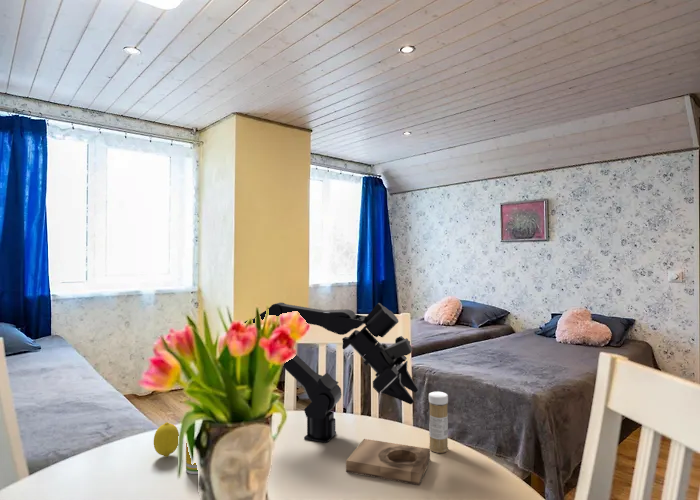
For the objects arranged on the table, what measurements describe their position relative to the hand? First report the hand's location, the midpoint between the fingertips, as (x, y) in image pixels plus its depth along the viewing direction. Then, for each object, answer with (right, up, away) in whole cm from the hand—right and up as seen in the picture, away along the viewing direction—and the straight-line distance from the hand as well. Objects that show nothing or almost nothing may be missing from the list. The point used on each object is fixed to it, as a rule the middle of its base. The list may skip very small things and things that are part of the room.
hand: (414, 396), depth 107 cm
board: (-7, -12, -10) cm, 17 cm away
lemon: (-59, -13, -5) cm, 60 cm away
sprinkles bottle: (+6, -12, -2) cm, 14 cm away
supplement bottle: (-49, -12, -11) cm, 52 cm away
